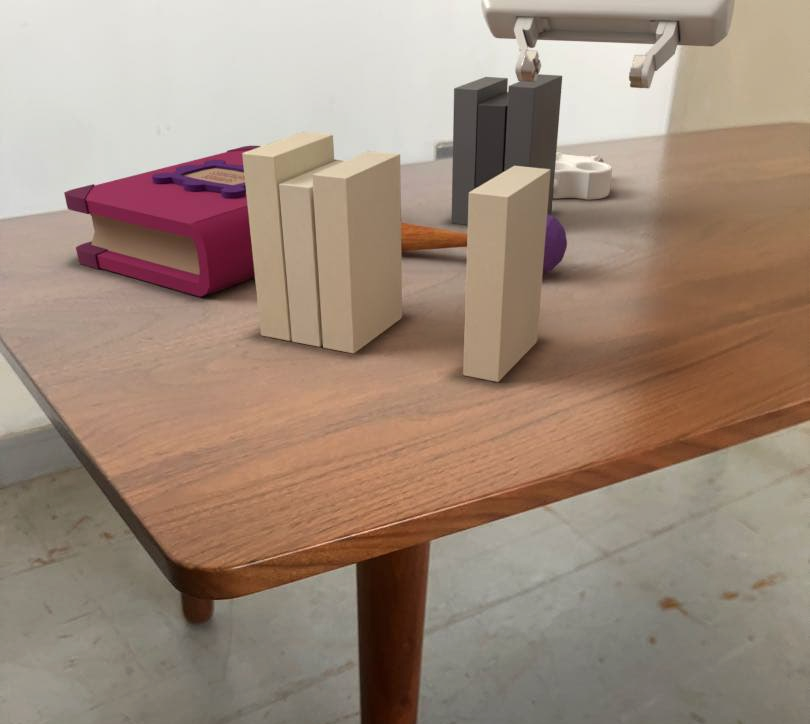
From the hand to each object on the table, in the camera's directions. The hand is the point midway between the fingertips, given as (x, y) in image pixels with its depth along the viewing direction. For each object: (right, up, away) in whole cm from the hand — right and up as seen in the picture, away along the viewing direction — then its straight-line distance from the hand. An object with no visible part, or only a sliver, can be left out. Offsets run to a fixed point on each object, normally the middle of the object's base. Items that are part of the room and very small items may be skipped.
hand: (580, 80), depth 74 cm
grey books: (-2, +2, +36) cm, 36 cm away
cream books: (-20, -18, +8) cm, 28 cm away
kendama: (-7, -8, +22) cm, 25 cm away
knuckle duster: (+4, +10, +48) cm, 50 cm away
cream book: (-6, -22, +2) cm, 23 cm away
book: (-33, -5, +28) cm, 43 cm away
